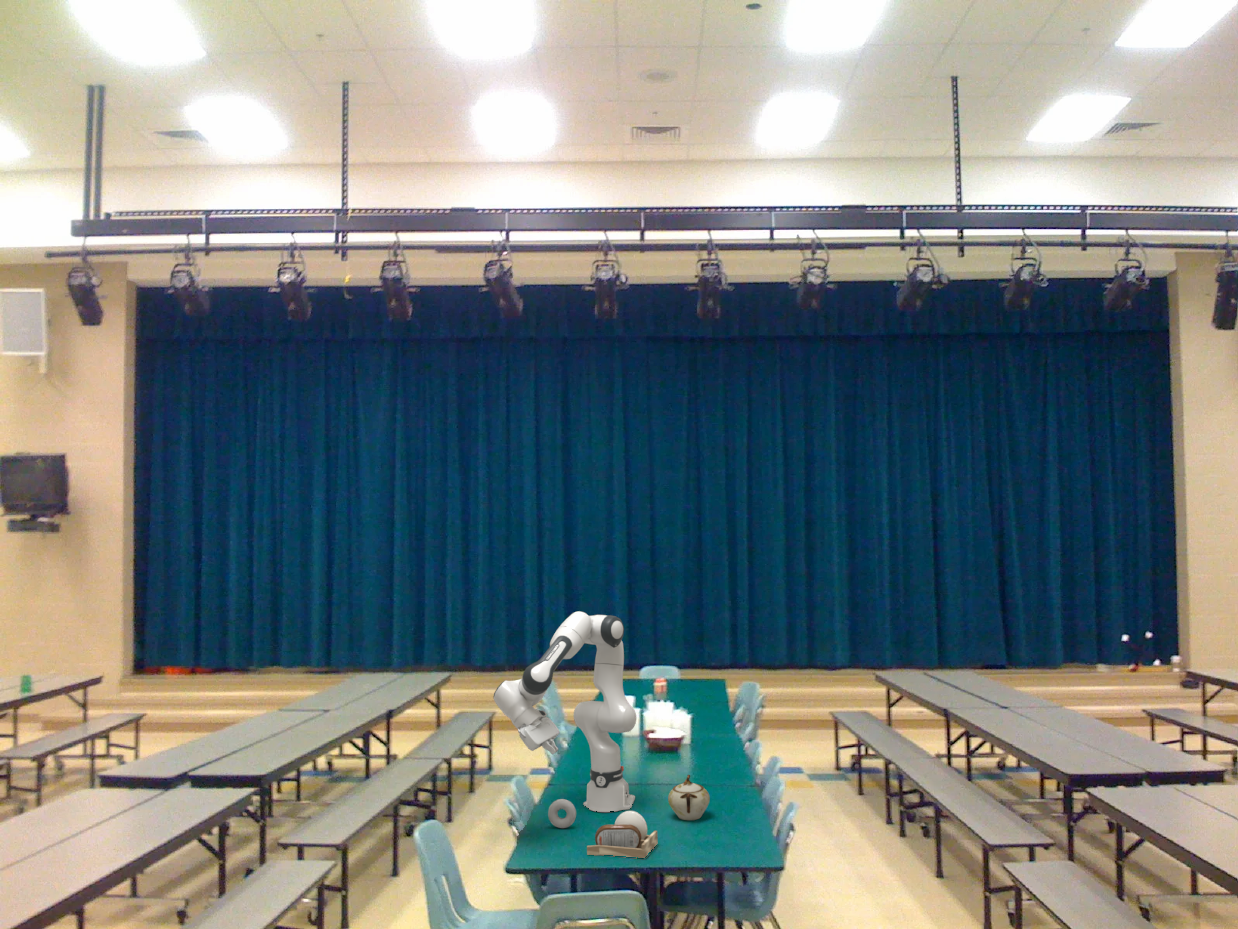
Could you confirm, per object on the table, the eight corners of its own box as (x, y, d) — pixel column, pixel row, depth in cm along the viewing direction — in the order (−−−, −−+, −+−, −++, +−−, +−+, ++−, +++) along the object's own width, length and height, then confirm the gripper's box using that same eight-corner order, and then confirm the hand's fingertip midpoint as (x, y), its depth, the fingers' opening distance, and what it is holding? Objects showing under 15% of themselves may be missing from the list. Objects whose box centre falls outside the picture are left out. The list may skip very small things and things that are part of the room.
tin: (641, 849, 310) (640, 823, 310) (641, 853, 307) (640, 826, 307) (595, 850, 310) (594, 824, 311) (595, 854, 307) (594, 827, 307)
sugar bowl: (710, 825, 332) (709, 781, 333) (667, 825, 334) (666, 782, 335) (709, 808, 352) (708, 767, 353) (669, 808, 353) (668, 767, 354)
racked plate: (616, 843, 316) (615, 809, 317) (647, 846, 313) (646, 812, 313) (614, 845, 315) (613, 811, 316) (646, 847, 311) (645, 813, 312)
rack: (602, 839, 320) (602, 826, 321) (657, 844, 314) (657, 830, 314) (585, 855, 305) (585, 841, 305) (643, 861, 299) (642, 846, 299)
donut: (577, 826, 335) (576, 797, 336) (575, 830, 332) (574, 800, 332) (549, 826, 336) (548, 797, 337) (547, 829, 333) (546, 800, 333)
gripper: (521, 721, 316) (549, 753, 312) (546, 710, 335) (572, 739, 331) (509, 734, 317) (537, 766, 313) (534, 722, 336) (561, 751, 332)
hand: (555, 752), depth 322 cm, fingers closed
